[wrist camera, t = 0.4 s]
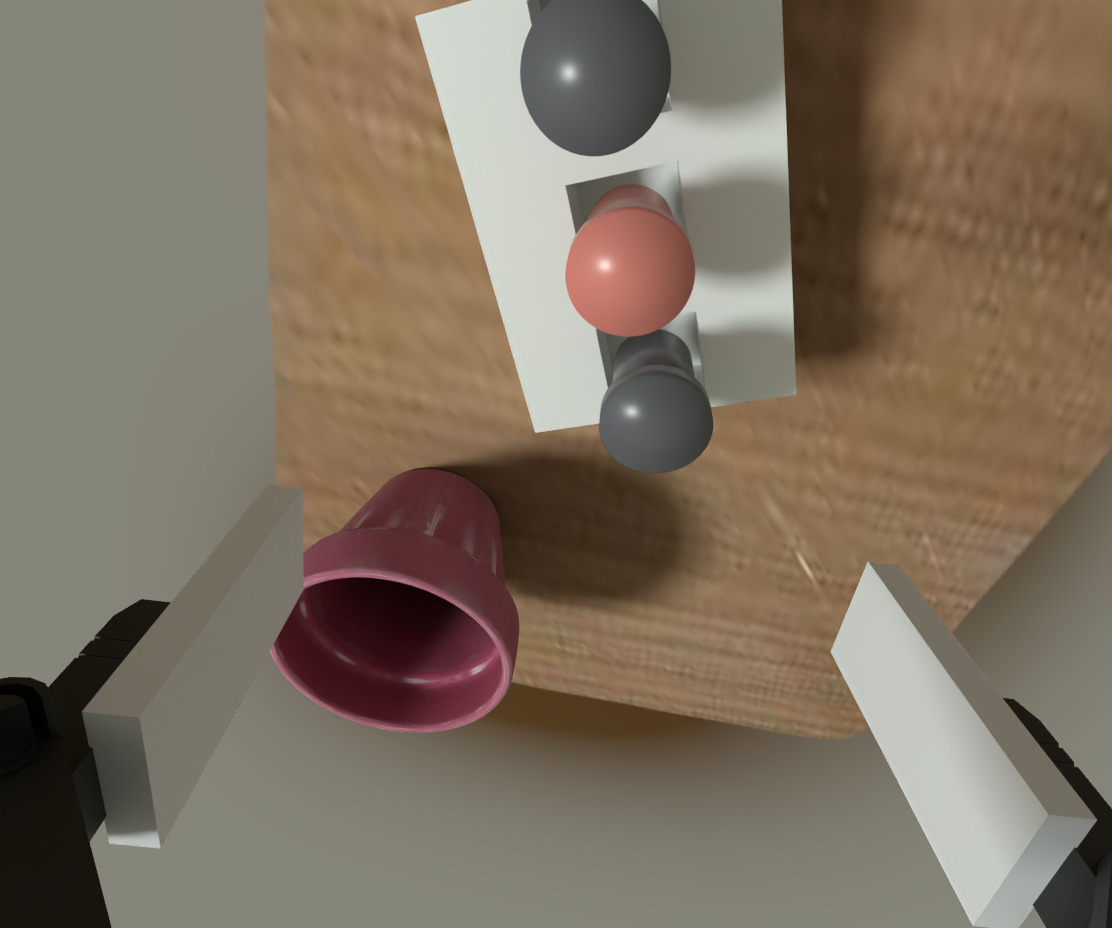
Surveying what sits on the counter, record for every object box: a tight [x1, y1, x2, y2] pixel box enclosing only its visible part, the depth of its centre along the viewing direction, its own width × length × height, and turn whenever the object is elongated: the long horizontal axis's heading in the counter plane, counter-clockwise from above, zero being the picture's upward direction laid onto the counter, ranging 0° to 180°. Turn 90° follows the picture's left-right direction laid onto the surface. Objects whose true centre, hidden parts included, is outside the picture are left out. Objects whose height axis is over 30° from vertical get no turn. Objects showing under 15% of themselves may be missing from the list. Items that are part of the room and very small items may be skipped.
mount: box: [415, 0, 796, 433], centre depth 34 cm, size 14×20×5 cm
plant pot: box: [270, 469, 519, 733], centre depth 44 cm, size 14×14×13 cm
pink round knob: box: [565, 184, 695, 337], centre depth 29 cm, size 5×5×6 cm
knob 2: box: [599, 329, 713, 473], centre depth 33 cm, size 5×5×6 cm
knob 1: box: [520, 0, 671, 156], centre depth 25 cm, size 5×5×6 cm
